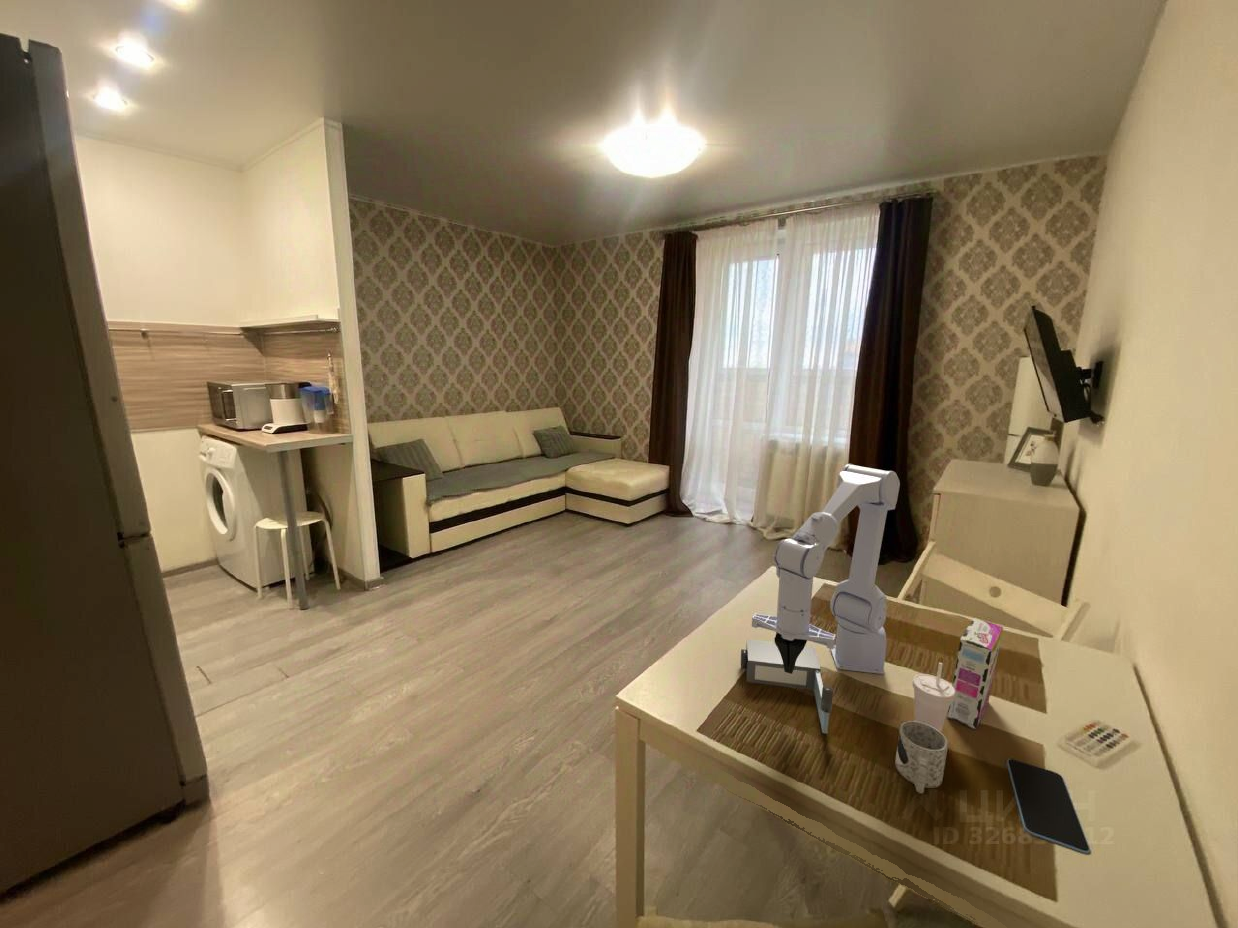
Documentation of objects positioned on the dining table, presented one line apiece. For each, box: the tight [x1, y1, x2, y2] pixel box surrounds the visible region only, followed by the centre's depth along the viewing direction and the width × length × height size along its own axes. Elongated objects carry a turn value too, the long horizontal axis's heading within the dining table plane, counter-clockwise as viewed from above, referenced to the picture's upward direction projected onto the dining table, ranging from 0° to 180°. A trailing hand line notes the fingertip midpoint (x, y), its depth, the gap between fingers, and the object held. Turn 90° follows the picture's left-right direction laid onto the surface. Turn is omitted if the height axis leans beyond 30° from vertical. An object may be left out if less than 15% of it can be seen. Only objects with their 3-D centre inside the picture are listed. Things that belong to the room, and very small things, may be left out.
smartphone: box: [1006, 758, 1091, 854], centre depth 75 cm, size 7×1×15 cm
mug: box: [895, 720, 949, 794], centre depth 79 cm, size 10×7×7 cm
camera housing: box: [740, 638, 821, 691], centre depth 105 cm, size 15×8×5 cm, turn 78°
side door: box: [813, 670, 834, 734], centre depth 94 cm, size 12×2×8 cm, turn 166°
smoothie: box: [911, 662, 955, 733], centre depth 88 cm, size 6×6×14 cm
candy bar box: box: [946, 617, 1004, 730], centre depth 93 cm, size 11×5×16 cm, turn 135°
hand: (789, 669), depth 94 cm, fingers closed
